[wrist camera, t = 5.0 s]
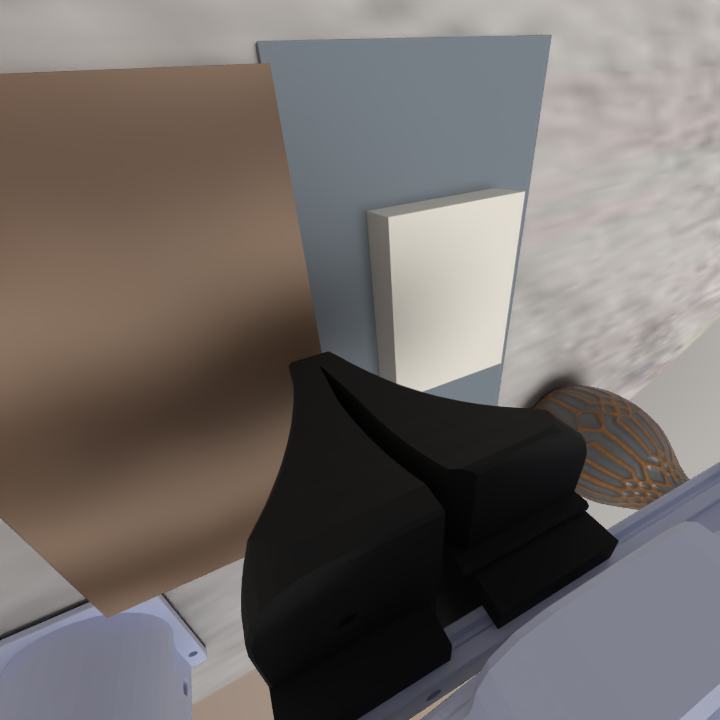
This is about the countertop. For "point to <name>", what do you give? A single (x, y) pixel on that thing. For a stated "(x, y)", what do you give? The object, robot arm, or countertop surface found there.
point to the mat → (398, 156)
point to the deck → (145, 320)
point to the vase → (617, 447)
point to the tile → (443, 284)
